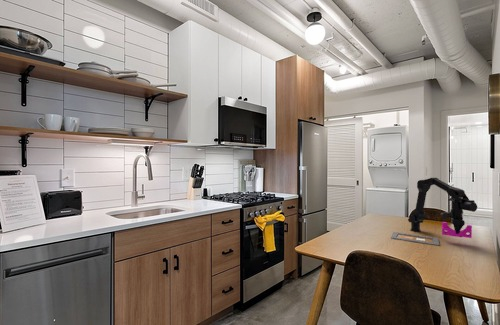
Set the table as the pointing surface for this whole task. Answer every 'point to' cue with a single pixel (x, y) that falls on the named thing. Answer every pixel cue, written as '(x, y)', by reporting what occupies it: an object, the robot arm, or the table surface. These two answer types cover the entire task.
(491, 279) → the table surface
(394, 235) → the frame
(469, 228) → the toy block
